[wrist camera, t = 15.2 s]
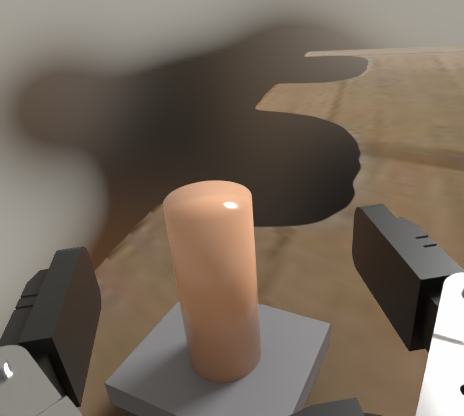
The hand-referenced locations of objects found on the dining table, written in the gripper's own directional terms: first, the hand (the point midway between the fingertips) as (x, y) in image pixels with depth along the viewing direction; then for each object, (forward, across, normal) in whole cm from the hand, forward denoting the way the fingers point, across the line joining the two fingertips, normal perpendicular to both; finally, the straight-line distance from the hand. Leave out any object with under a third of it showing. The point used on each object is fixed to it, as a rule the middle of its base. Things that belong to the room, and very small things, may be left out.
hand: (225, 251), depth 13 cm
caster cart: (+10, 0, +21) cm, 23 cm away
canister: (+10, 0, +16) cm, 19 cm away
